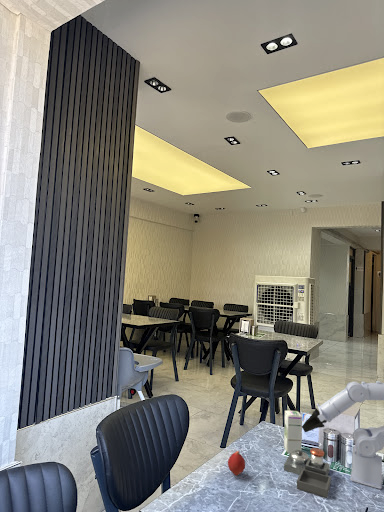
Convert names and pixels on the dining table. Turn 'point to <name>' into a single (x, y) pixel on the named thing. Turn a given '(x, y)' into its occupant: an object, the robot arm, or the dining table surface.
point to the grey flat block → (303, 464)
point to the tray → (314, 483)
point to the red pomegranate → (236, 463)
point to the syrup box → (292, 431)
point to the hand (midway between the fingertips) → (304, 427)
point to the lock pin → (317, 457)
